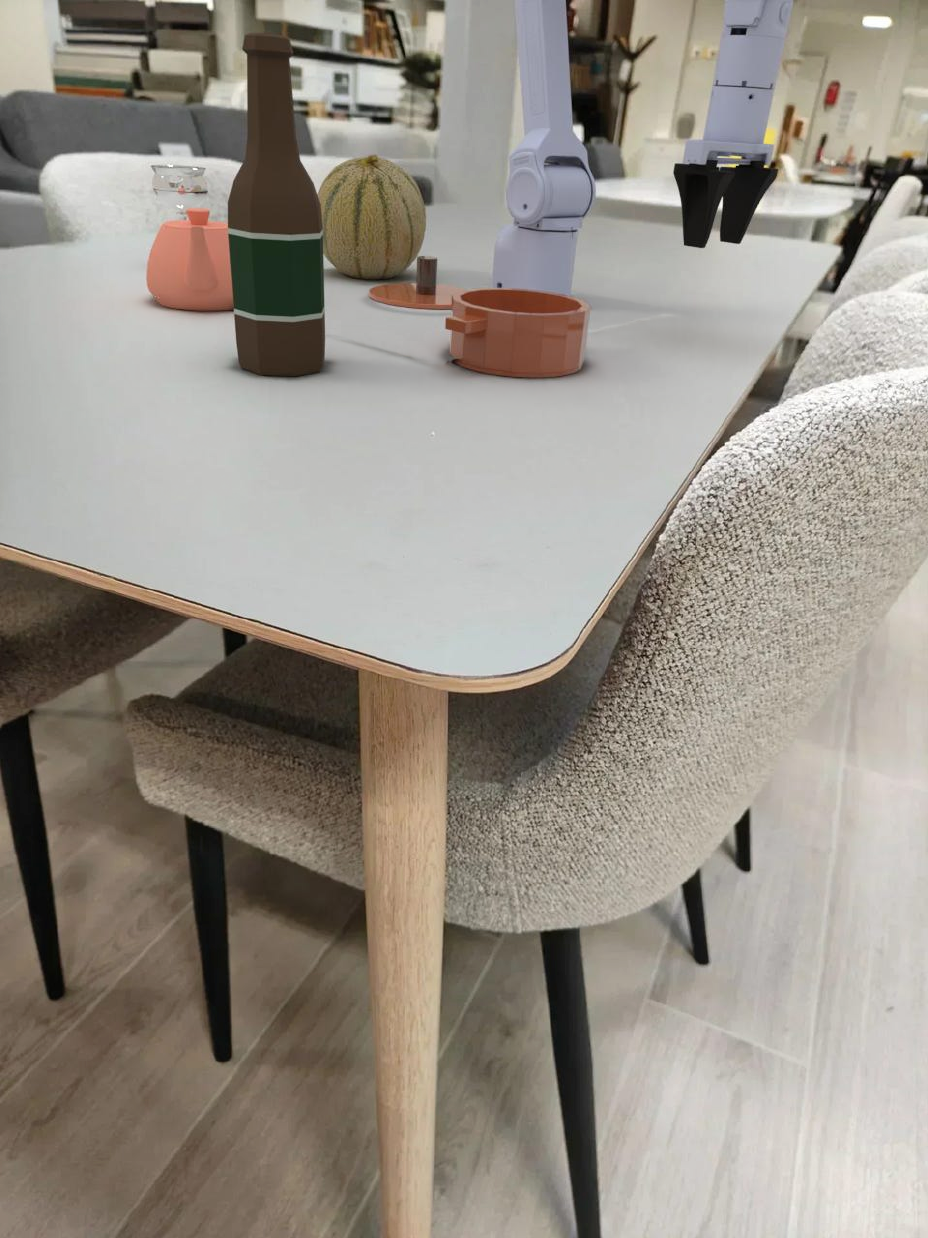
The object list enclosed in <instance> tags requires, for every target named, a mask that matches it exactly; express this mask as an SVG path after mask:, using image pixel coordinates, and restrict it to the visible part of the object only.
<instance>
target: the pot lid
mask: <svg viewBox="0 0 928 1238" xmlns="http://www.w3.org/2000/svg"><path fill="white" fill-rule="evenodd" d="M437 280H438V257H436V256H429V255H419V256H418V255H417V257H416V281H415V282H406V283H405V282H404V283H403V282H402V283H401V282H400V283H399V282H398V283H387V284H381V285H376V286H374V287H371V288H370V289H369V290H368V296H369V297H370V299H372V300H374V301H376V302H378V303H382V304H387V305H390V306H396V307H402V308H411V309H420V310H421V309H424V310H451V303H452V295H453V294H455V293H457V292H459V291H463V290H469V288H464V287H460V286H454V285H445V284H437Z"/></svg>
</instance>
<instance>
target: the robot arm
mask: <svg viewBox="0 0 928 1238" xmlns="http://www.w3.org/2000/svg"><path fill="white" fill-rule="evenodd" d="M796 1H797V0H724V7H723V8H724V9H723V14H722V19H724V20H723V26H722V32H721V37H720V42H719V48H718V53H717V59H716V64H715V70H714V76H713V81H712V86H711V92H710V97H709V103H708V108H707V114H706V115H707V116H706V121H705V125H704V130H703V136H702V139H686V140H685V144H684V150H683V157H682V163H678V162H677V163H674V164H673V165H674V166H673V177H674V179H675V183H676V186H677V189H678V194H679V199H680V206H681V218H682V238H683V246H685V247H689V248H690V247H691V248H698V249H705V248H706V247H707V245H708V244H707V243H708V241H709V239H710V236H711V234H712V230H713V226H714V222H715V219H716V215H717V212H718V210H719V207H720V204H721V201H722V207H721V217H720V224H719V225H720V226H719V241H720V242H723V243H728V244H735V245H740V244H741V243H742V241H743V239H744V237H745V235H746V232H747V231H748V228H749V226H750V223H751V221H752V219H753V217H754V215H755V212H756V210H757V208H758V206H759V205H760V202H761V201H762V199H763V197H764V196H765V194H766V193H767V192H768V190H769V188H770V187H771V186H772V184H773V183H774V182H775V180H776V179H777V177H778V174H779V169H778V168H774V167H765V166H771V163H772V159H773V153H774V149H775V143H774V144H773V143H764V141H765V137H766V133H767V128H768V123H769V118H770V114H771V110H772V104H773V99H774V96H775V95H774V94H775V90H776V85H777V80H778V76H779V71H780V67H781V62H782V57H783V54H784V53H783V52H784V47H785V42H786V39H787V33H788V29H789V25H790V19H791V16H792V15H791V14H792V10H793V5H794V4H795V2H796ZM514 13H515V25H516V27H515V28H516V38H517V39H516V40H517V53H518V54H517V55H518V66H519V81H520V93H521V94H520V95H521V107H522V120H523V133H524V137H523V139H522V140H521V141H520V142H519V143H518V145H517V146H516V147H515V148H514V149H513V150H512V151H511V153H510V154H509V156H508V161H509V173H508V174H509V175H508V180H507V184H506V189H505V201H506V206H507V209H508V211H509V214H510V215H511V217H512V218H513V223H512V222H511V223H508V224H506V225H505V226H504V227H502V229H500V231H499V233H498V235H497V237H496V241H495V244H494V251H493V264H492V265H493V266H492V281H491V288H515V289H529V290H538V291H546V292H553V293H558V294H562V295H567V296H571V297H572V287H573V278H574V270H575V263H576V262H575V261H576V253H577V245H578V235H579V229H582V227H583V220H584V219H585V218H587V216H588V215H589V214H590V213H591V211H592V210H593V207H594V205H595V202H596V196H597V186H596V182H595V178H594V176H593V173H592V172H591V169H590V166H589V158H588V151H587V148H586V147H585V146H584V144H583V142H582V141H581V140H580V138H579V137H578V136H577V134H576V132H575V131H574V124H573V123H574V122H573V106H572V89H571V87H572V86H571V71H570V54H569V53H570V52H569V38H568V37H569V34H568V33H569V32H568V18H567V17H568V16H567V1H566V0H514ZM733 157H734V158H733ZM735 157H736V158H735ZM737 157H739V158H737ZM740 157H741V158H740ZM718 165H735V166H718Z"/></svg>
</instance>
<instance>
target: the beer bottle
mask: <svg viewBox="0 0 928 1238" xmlns="http://www.w3.org/2000/svg"><path fill="white" fill-rule="evenodd" d="M241 48H242V49H241V50H242V51H243V52H244V53H245V55H246V103H247V105H246V106H247V107H246V108H247V111H246V112H247V113H246V114H247V115H246V117H247V119H246V120H247V123H246V124H247V125H246V126H247V137H246V146H245V147H246V148H245V157H244V160H243V162H242V163H241V166H240V167H239V169H238V171H237V172H236V175H235V177H234V178H233V181H232V184H231V188H230V193H229V195H228V196H229V197H228V200H227V223H228V237H229V250H230V264H231V278H232V292H233V306H234V309H233V317H234V329H235V331H234V332H235V343H236V351H237V352H236V353H237V360H238V364H239V366H240V368H241V369H244V370H246V371H249V372H251V373H254V374H257V375H259V376H274V377H299V376H304V375H310V374H314V373H320V372H321V371H322V368H323V365H324V362H325V359H326V358H325V355H326V321H325V320H326V317H325V316H326V315H325V314H326V313H325V311H326V310H325V309H326V307H325V271H324V270H325V266H324V265H325V264H324V261H325V260H324V253H323V225H322V214H321V204H320V201H319V198H318V195H317V194H318V191H317V189H316V186H315V184H314V183H315V182H314V181H313V180H312V178H311V176H310V175H309V173H308V171H307V170H306V167H305V166H304V164H303V162H302V160H301V157H300V152H299V151H300V150H299V145H298V140H297V131H296V120H295V109H294V95H293V85H292V84H293V83H292V74H291V62H290V58H292V57H293V55H294V50H293V47H292V43H291V39H289V38H288V37H286V36H284V35H283V34H276V33H268V32H267V33H265V32H249V33H247V34H245V35H244V37H243V42H242V47H241Z"/></svg>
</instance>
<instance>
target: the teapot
mask: <svg viewBox="0 0 928 1238" xmlns="http://www.w3.org/2000/svg"><path fill="white" fill-rule="evenodd" d="M210 212H211V210H210V209H208V208H204V207H203V208H202V207H199V208H188V209H186V213H187V215H188V216H187V218H188V219H187V220H180V219H178V220H167V221H164V222H163V223H162V224H161V226H160V227H159V230H158V232H157V233H156V236H155V238H154V240H153V243H152V245H151V249H150V251H149V255H148V259H147V265H146V286H147V289H148V291H149V293H150V294H151V296H153V295H154V296H153V298H154V299H155V300H156V301H157V302H158V304H159V305H160V306H163V307H166V308H170V309H175V310H185V311H198V312H199V311H201V312H202V311H204V312H205V311H207V312H209V311H210V312H212V311H232V310H233V311H234V305H233V292H232V278H231V264H230V250H229V237H228V222H225V221H217V220H216V221H214V220H209V219H210V214H211V213H210ZM155 296H156V297H155ZM158 297H159V298H158Z"/></svg>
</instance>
